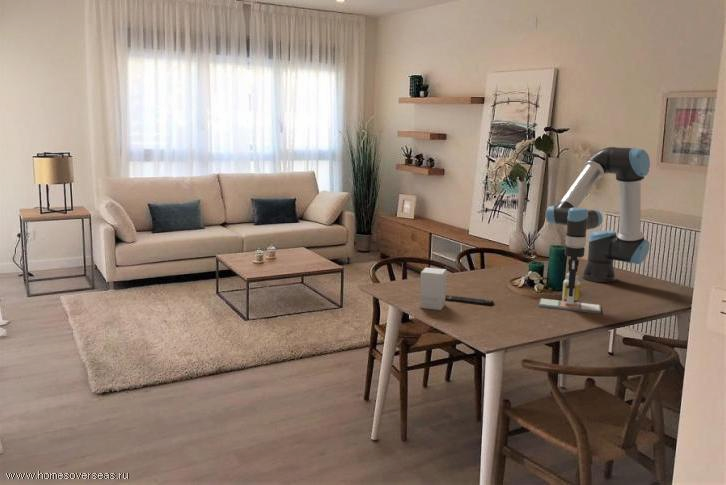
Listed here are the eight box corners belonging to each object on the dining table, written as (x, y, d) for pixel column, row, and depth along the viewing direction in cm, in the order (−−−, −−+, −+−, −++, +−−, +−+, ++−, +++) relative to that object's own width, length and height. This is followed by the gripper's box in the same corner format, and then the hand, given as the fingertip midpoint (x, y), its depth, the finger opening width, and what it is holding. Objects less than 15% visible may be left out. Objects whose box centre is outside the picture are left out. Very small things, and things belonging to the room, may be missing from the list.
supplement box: (445, 304, 262) (447, 269, 259) (441, 310, 254) (442, 274, 251) (424, 301, 265) (425, 266, 262) (418, 307, 257) (420, 271, 254)
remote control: (437, 297, 274) (437, 294, 274) (494, 303, 266) (494, 300, 266) (434, 300, 269) (435, 297, 269) (492, 307, 261) (492, 304, 261)
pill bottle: (579, 304, 258) (581, 276, 256) (562, 303, 260) (564, 275, 257) (577, 299, 265) (579, 272, 262) (561, 298, 266) (563, 271, 263)
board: (540, 300, 271) (540, 297, 271) (600, 306, 263) (600, 304, 263) (538, 306, 262) (538, 304, 261) (600, 313, 254) (601, 311, 254)
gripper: (566, 240, 267) (561, 293, 272) (564, 250, 249) (559, 306, 254) (584, 242, 265) (580, 295, 270) (584, 251, 247) (579, 308, 252)
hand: (570, 301), depth 262 cm, fingers closed on pill bottle, 6 cm apart
